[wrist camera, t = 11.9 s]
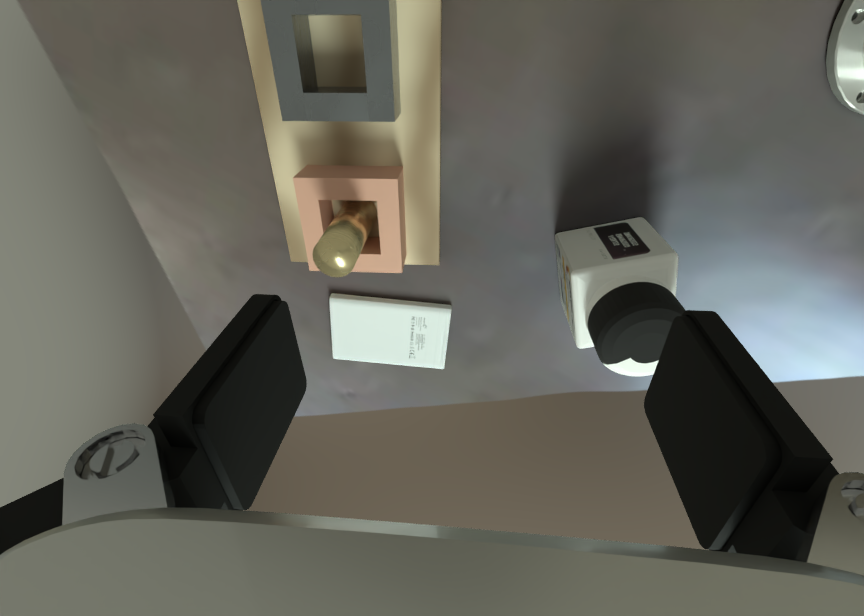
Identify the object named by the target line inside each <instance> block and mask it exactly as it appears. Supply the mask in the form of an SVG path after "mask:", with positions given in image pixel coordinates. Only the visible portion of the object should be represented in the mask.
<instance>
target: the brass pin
mask: <svg viewBox="0 0 864 616" xmlns="http://www.w3.org/2000/svg"><path fill="white" fill-rule="evenodd" d="M376 217H377V210H376V207H375V205H374V203H373V202H372V201H357V200H346V201H345V203H344V204H343V206H342V207H341V209H340V210H339V212H338V213H337V215H336V216H335V217H334V219H333V220H332V222H331V223H330V225H329V226H328V228H327V229H326V231H325V232H324V234H323V235H322V236H321V238H320V239H319V241H318V242H317V244H316V245H315V247H314V249H313V261H314V263H315V265H316V266H317V268H318V269H319V270H320V271H321V272H323V273H324V274H326V275H328V276H332V277H342V276H345V275H347V274H349V273H350V272H351V271H352V270H353V268H354V266H355V264H356V262H357V259H358V257H359V255H360V253H361V251H362V249H363V246H364V244H365V242H366V240H367V238H368V235H369V233H370V231H371V229H372V227H373V225H374V222H375V220H376Z"/></svg>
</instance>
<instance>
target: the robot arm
mask: <svg viewBox="0 0 864 616" xmlns="http://www.w3.org/2000/svg"><path fill="white" fill-rule="evenodd" d="M826 67H827V78H828V81H829V84H830V86H831V89H832V92H833V93H834V95H835V96H836V97H837V99H838V100H839V101H840V103H841V104H843V105H844V106H846V107H847V108H848V109H850V110H851V111H853V112H856V113H858V114H861V115H864V0H844V3H843V5H842V7H841V9H840V11H839V13H838V15H837V17H836V20H835V22H834V25H833V28H832V32H831V35H830V38H829V42H828V49H827V57H826ZM305 391H306V376H305V372H304V368H303V364H302V360H301V356H300V352H299V348H298V344H297V340H296V336H295V332H294V328H293V324H292V319H291V315H290V311H289V307H288V304H287V303H286V302H285V301H281V298H280V297H279V296H278V295H263V294H255V295H253V296H252V297H251V298H250V299H249V300H248V301H247V302H246V304H245V305H244V306H243V307H242V308H241V310H240V311H239V312H238V313H237V314H236V316H235V317H234V318H233V319H232V320H231V322H230V323H229V324H228V325H227V326H226V328H225V329H224V330H223V331H222V332H221V334H220V335H219V336H218V337H217V338H216V340H215V341H214V342H213V343H212V344H211V346H210V347H209V348H208V349H207V351H206V352H205V353H204V354H203V355H202V357H201V358H200V359H199V360H198V361H197V363H196V364H195V365H194V366H193V367H192V369H191V370H190V371H189V372H188V373H187V375H186V376H185V377H184V378H183V380H182V381H181V382H180V383H179V384H178V385H177V387H176V388H175V389H174V390H173V392H172V393H171V394H170V395H169V396H168V398H167V399H166V400H165V401H164V402H163V403H162V405H161V406H160V407H159V408H158V409H157V411H156V412H155V413H154V414H153V415H154V417H155V418H154V419H153V420H152V421H151V423H150V424H149V425H148V426H145V425H142V424H135V423H134V424H125V425H119V426H116V427H113V428H110V429H107V430H105V431H103V432H101V433H99V434H97V435H95V436H94V437H92V438H91V439H89V440H88V441H86V442H85V443H83V444H82V445H81V446H80V447H79V448H78V449H77V450H76V451H75V452H74V453H73V455H72V456H71V457H70V459H69V460H68V462H67V464H66V467H65V471H64V478H62V479H60V480H58V481H56V482H54V483H52V484H50V485H48V486H45V487H43V488H41V489H39V490H37V491H35V492H32V493H30V494H28V495H26V496H24V497H22V498H20V499H17V500H15V501H14V502H11V503H9V504H7V505H5V506H3V507H0V616H864V474H863V473H858V472H849V473H848V472H845V473H842V474H839V473H838V472H837V470H836V469H835V468H834V467H833V465H832V464H831V463H830V462H831V461H832V460H833V458H832V457H831V456H830V455H829V453H828V452H827V451H826V449H825V448H824V447H823V446H822V444H821V443H820V442H819V441H818V439H817V438H816V437H815V436H814V434H813V433H812V432H811V431H810V430H809V428H808V427H807V426H806V425H805V423H804V422H803V421H802V419H801V418H800V417H799V416H798V414H797V413H796V412H795V411H794V409H793V408H792V407H791V406H790V405H789V403H788V402H787V401H786V399H785V398H784V397H783V396H782V394H781V393H780V392H779V391H778V389H777V388H776V387H775V386H774V384H773V383H772V382H771V380H770V379H769V378H768V377H767V375H766V374H765V373H764V372H763V370H762V369H761V368H760V367H759V365H758V364H757V363H756V362H755V360H754V359H753V358H752V357H751V355H750V354H749V353H748V352H747V350H746V349H745V348H744V347H743V345H742V344H741V343H740V342H739V340H738V339H737V338H736V337H735V335H734V334H733V333H732V332H731V330H730V329H729V328H728V326H727V325H726V324H725V323H724V321H723V320H722V319H721V318H720V316H719V315H718V314H717V313H716V312H713V311H692V310H687V311H685V312H684V313H683V314H682V315H681V316H677V317H675V318H674V320H673V322H672V325H671V328H670V330H669V333H668V336H667V339H666V341H665V344H664V347H663V350H662V352H661V355H660V358H659V361H658V363H657V366H656V369H655V372H654V375H653V377H652V380H651V383H650V386H649V388H648V391H647V394H646V397H645V402H644V408H645V413H646V415H647V418H648V420H649V423H650V425H651V428H652V430H653V432H654V435H655V437H656V439H657V442H658V444H659V447H660V449H661V452H662V454H663V457H664V459H665V461H666V464H667V466H668V468H669V471H670V473H671V476H672V478H673V480H674V483H675V485H676V488H677V490H678V493H679V495H680V498H681V500H682V502H683V505H684V507H685V509H686V512H687V514H688V517H689V519H690V522H691V524H692V527H693V529H694V531H695V534H696V536H697V539H698V541H699V543H700V545H701V546H702V547H703V548H704V549H709V550H701V549H691V548H683V547H673V546H662V545H650V544H640V543H628V542H618V541H606V540H596V539H584V538H573V537H562V536H551V535H539V534H528V533H517V532H505V531H493V530H481V529H470V528H458V527H447V526H435V525H422V524H410V523H399V522H387V521H374V520H361V519H349V518H337V517H324V516H311V515H298V514H287V513H273V512H258V511H243V510H247V509H249V507H250V506H251V505H252V503H253V501H254V499H255V497H256V495H257V493H258V491H259V488H260V486H261V484H262V482H263V480H264V478H265V476H266V474H267V472H268V470H269V467H270V465H271V463H272V461H273V459H274V457H275V455H276V453H277V450H278V449H279V446H280V444H281V442H282V440H283V438H284V436H285V434H286V432H287V430H288V427H289V425H290V423H291V421H292V419H293V417H294V415H295V413H296V411H297V408H298V406H299V404H300V402H301V400H302V398H303V396H304V394H305Z"/></svg>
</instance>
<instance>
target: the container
mask: <svg viewBox="0 0 864 616" xmlns="http://www.w3.org/2000/svg"><path fill="white" fill-rule="evenodd" d="M555 245H556V255H557V266H558V276H559V287H560V297H561V303H562V306H563V309H564V311H565V314H566V317H567V320H568V323H569V326H570V328H571V331H572V334H573V337H574V340H575V343H576V345H577V347H578V348H589V347H595V349H596V352H597V354H598V356H599V358H600V360H601V362H602V363H603V364H604V365H605V366H606V367H607V368H609V369H610V370H612V371H614V372H616V373H619V374H623V375H628V376H648V375H653V374H654V372H655V369H656V366H657V363H658V361H659V358H660V355H661V352H662V350H663V347H664V344H665V341H666V339H667V336H668V333H669V330H670V328H671V325H672V322H673V320H674V318H675V317H677V316H681V315H682V314H683V313H684V312H685V311H686V310H685V309H684V308H683V306H682V305H681V304H680V303H679V301H678V300H677V299H676V286H677V272H678V254H677V253H676V252H675V251H674V250H673V249H672V248H671V247H670V246H669V244H668V243H667V242H666V241H665V240H664V239H663V238H662V237H661V236H660V235H659V234H658V233H657V232H656V231H655V229H654V228H653V227H652V226H651V225H650V224H649V223H648V222H647V221H646V220H645V219H644V218H643V217H638V218H633V219H627V220H622V221H617V222H612V223H607V224H601V225H596V226H591V227H586V228H581V229H575V230H570V231H565V232H560V233H557V234H556V235H555Z"/></svg>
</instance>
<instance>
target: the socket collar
mask: <svg viewBox="0 0 864 616" xmlns="http://www.w3.org/2000/svg"><path fill="white" fill-rule="evenodd" d="M293 181H294V187H295V192H296V198H297V203H298V209H299V214H300V220H301V225H302V231H303V236H304V242H305V247H306V253H307V258H308V264H309V269H310V271H320V270H319V269H318V268H317V266H316V265H315V263H314V261H313V249H314V247H315V245H316V244H317V242H318V241H319V239H320V238H321V236H322V235H323V234H324V232H325V231H326V229H327V228H328V226H329V225H330V223H331V222H332V220H333V219H334V212H333V205H332V200H357V201H377V210H378V223H379V236H380V237H368V238H367V240H366V242H365V244H364V246H363V249H362V251H361V253H360V255H359V257H358V259H357V262H356V264H355V266H354V268H353V270H352V271H351V272H381V273H402V271H403V267H404V263H405V259H406V255H407V252H406V227H405V202H404V177H403V166H343V165H306V166H305V167H304V168H303V169H302V170H301V171H300V172H299V173H297V174H296V175H295V176H294V177H293Z"/></svg>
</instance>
